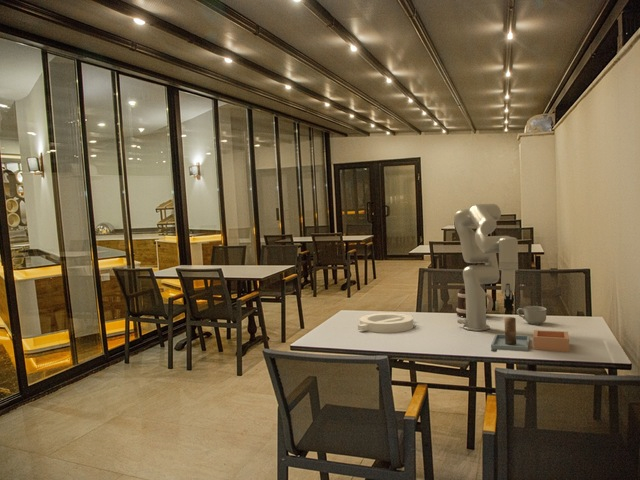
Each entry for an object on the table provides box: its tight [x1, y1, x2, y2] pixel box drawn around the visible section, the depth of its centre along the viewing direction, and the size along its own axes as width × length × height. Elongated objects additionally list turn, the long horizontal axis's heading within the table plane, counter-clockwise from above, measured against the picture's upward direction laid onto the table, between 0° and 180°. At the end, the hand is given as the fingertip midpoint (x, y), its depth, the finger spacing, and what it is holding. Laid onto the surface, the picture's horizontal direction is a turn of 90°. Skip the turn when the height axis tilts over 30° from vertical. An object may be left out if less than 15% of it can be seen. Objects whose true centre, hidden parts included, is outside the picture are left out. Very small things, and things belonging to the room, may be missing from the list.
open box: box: [532, 329, 570, 352], centre depth 201 cm, size 13×13×6 cm
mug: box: [456, 287, 494, 318], centre depth 275 cm, size 20×15×15 cm
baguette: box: [503, 316, 517, 345], centre depth 208 cm, size 4×4×11 cm
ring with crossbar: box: [357, 312, 414, 334], centre depth 257 cm, size 28×28×5 cm
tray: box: [490, 333, 530, 352], centre depth 208 cm, size 14×20×2 cm
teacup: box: [516, 305, 547, 325], centre depth 250 cm, size 14×11×8 cm
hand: (509, 306), depth 208 cm, fingers open, 9 cm apart
